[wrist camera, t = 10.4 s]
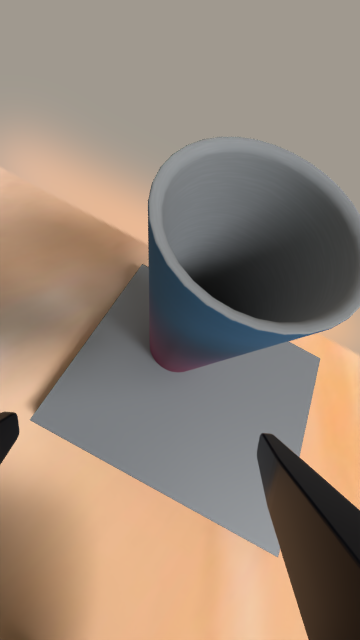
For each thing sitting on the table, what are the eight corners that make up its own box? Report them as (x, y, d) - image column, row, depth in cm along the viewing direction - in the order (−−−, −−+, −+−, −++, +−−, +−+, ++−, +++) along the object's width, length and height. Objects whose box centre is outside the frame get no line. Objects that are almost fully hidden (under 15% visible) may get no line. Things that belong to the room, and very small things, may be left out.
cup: (197, 300, 22) (301, 130, 8) (226, 366, 20) (417, 292, 7) (128, 320, 20) (115, 142, 6) (154, 395, 19) (211, 377, 5)
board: (309, 361, 24) (320, 358, 23) (266, 546, 17) (277, 557, 16) (142, 272, 24) (142, 264, 23) (37, 419, 18) (29, 419, 16)
